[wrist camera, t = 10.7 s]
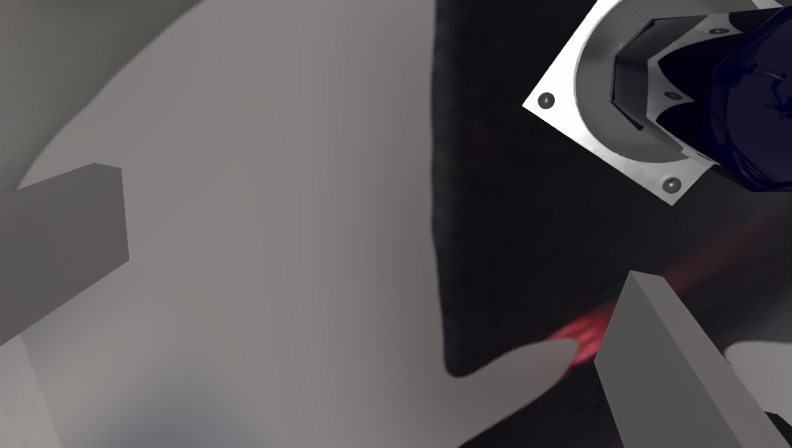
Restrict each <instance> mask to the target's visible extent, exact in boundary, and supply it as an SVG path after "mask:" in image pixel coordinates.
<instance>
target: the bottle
mask: <svg viewBox="0 0 792 448" xmlns="http://www.w3.org/2000/svg"><path fill="white" fill-rule="evenodd" d="M609 101H610V102H611V103H612V104H613V105H614V106H615V107H616V108H617V110H618V111H619V112H620V113H621V114H622V115H623V116H624V117H625V118H626V119H627V120H628V121H629V122H630V123H631V124H632V125H633V126H634V127H635V128H636V129H637V130H638V131H644V132H646V133H647V134H649V135H651V136H653V137H654V138H656V139H658V140H660V141H662V142H663V143H665V144H667V145H669V146H670V147H672V148H674V149H676V150H678V151H679V152H681V153H683V154H685V155H686V156H688V157H690V158H692V159H694V160H695V161H697V162H699V163H701V164H702V165H704V166H706V167H708V168H710V169H711V170H713V171H715V172H717V173H718V174H720V175H722V176H724V177H726V178H727V179H729V180H731V181H733V182H734V183H736V184H738V185H740V186H742V187H743V188H745V189H747V190H749V191H751V192H792V6H787V7H776V8H767V9H757V10H748V11H739V12H729V13H720V14H711V15H698V16H685V17H671V18H658V19H651V20H650V21H649V22H648V23H647V24H646V25H645V26H644V27H643V28H642V29H641V30H640V31H639V32H637V33H636V34H635V35H634V36H633V37H632V38H631V39H630V40H629V41H628V42H627V43H626V44H625V45H624V46H623V47H622V48H621V49H620V50H619V51H618V52H617V53H616V54H615V55H614V56H613V67H612V78H611V89H610V100H609Z"/></svg>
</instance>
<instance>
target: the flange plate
mask: <svg viewBox="0 0 792 448" xmlns="http://www.w3.org/2000/svg"><path fill="white" fill-rule="evenodd" d="M776 7H783V6H781V5H780V4H778V3H777V2H776V1H774V0H597V1H596V2H595V4H594V5H593V7H592V8H591V9H590V11H589V12H588V14H587V15H586V16H585V18H584V19H583V20H582V22H581V23H580V25H579V26H578V27H577V29H576V30H575V32H574V33H573V34H572V36H571V37H570V39H569V40H568V41H567V43H566V44H565V46H564V47H563V48H562V50H561V51H560V52H559V54H558V55H557V57H556V58H555V59H554V61H553V62H552V64H551V65H550V66H549V68H548V69H547V71H546V72H545V73H544V75H543V76H542V77H541V79H540V80H539V82H538V83H537V84H536V86H535V87H534V89H533V90H532V91H531V93H530V94H529V96H528V97H527V98H526V100H525V101H524V103H523V104H522V106H524V107H525V108H527V109H528V110H530V111H531V112H533V113H534V114H536V115H537V116H539V117H540V118H542V119H543V120H545V121H546V122H548V123H549V124H551V125H552V126H554V127H555V128H557V129H558V130H560V131H561V132H563V133H564V134H566V135H567V136H569V137H570V138H571V139H573V140H574V141H576V142H577V143H579V144H580V145H582V146H583V147H585V148H586V149H588V150H589V151H591V152H592V153H594V154H595V155H597V156H598V157H600V158H601V159H603V160H604V161H606V162H607V163H609V164H610V165H612V166H613V167H615V168H616V169H618V170H619V171H621V172H622V173H624V174H625V175H627V176H628V177H630V178H631V179H633V180H634V181H636V182H637V183H639V184H640V185H642V186H643V187H645V188H646V189H648V190H649V191H651V192H652V193H654V194H655V195H657V196H658V197H659V198H661V199H662V200H664V201H665V202H667V203H668V204H670V205H671V206H672V205H673V204H674V203H675V202H676V201H677V200H678V199H679V198H680V197H681V196H682V195H683V194H684V193H685V192H686V191H687V190H688V189H689V188H690V187H691V186H692V184H693V183H694V182H695V181H696V180H697V179H698V178H699V177H700V176H701V175H702V174H703V173H704V172H705V171H706V170H707V169H708V167H706V166H704V165H702V164H701V163H699V162H697V161H695V160H694V159H692V158H690V157H688V156H686V155H685V154H683V153H681V152H679V151H678V150H676V149H674V148H672V147H670V146H669V145H667V144H665V143H663V142H662V141H660V140H658V139H656V138H654V137H653V136H651V135H649V134H647V133H646V132H644V131H638V130H637V129H636V128H635V127H634V126H633V125H632V124H631V123H630V122H629V121H628V120H627V119H626V118H625V117H624V116H623V115H622V114H621V113H620V112H619V111H618V110H617V108H616V107H615V106H614V105H613V104H612V103H611V102H610V101H609V100H610V89H611V78H612V67H613V56H614V55H615V54H616V53H617V52H618V51H619V50H620V49H621V48H622V47H623V46H624V45H625V44H626V43H627V42H628V41H629V40H630V39H631V38H632V37H633V36H634V35H635V34H636V33H637V32H639V31H640V30H641V29H642V28H643V27H644V26H645V25H646V24H647V23H648V22H649V21H650V20H651V19H658V18H671V17H685V16H698V15H711V14H720V13H729V12H739V11H748V10H757V9H767V8H776Z"/></svg>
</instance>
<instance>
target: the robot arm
mask: <svg viewBox="0 0 792 448" xmlns="http://www.w3.org/2000/svg"><path fill="white" fill-rule="evenodd" d="M121 175H122V174H121V168H117V167H112V166H107V165H102V164H97V163H92V164H89V165H87V166H84V167H81V168H78V169H75V170H72V171H70V172H67V173H64V174H61V175H58V176H55V177H52V178H50V179H47V180H44V181H41V182H38V183H35V184H33V185H30V186H27V187H24V188H21V189H18V190H15V191H13V192H10V193H7V194H4V195H1V196H0V346H1V345H3V344H4V343H6V342H7V341H9V340H10V339H12V338H13V337H15V336H16V335H18V334H19V333H21V332H22V331H24V330H25V329H26V328H28V327H30V326H31V325H33V324H34V323H36V322H37V321H39V320H40V319H42V318H43V317H44V316H46V315H48V314H49V313H51V312H52V311H53V310H55V309H56V308H58V307H60V306H61V305H62V304H64V303H66V302H67V301H69V300H70V299H72V298H73V297H74V296H76V295H77V294H79V293H80V292H82V291H84V290H85V289H86V288H88V287H89V286H91V285H92V284H94V283H95V282H97V281H99V280H100V279H101V278H103V277H104V276H106V275H108V274H109V273H110V272H112V271H113V270H115V269H116V268H118V267H120V266H121V265H122V264H124V263H125V262H127V261H129V254H128V242H127V232H126V220H125V209H124V197H123V186H122V176H121ZM594 363H595V366H596V368H597V371H598V374H599V377H600V380H601V383H602V385H603V388H604V391H605V394H606V397H607V400H608V402H609V405H610V408H611V411H612V414H613V416H614V419H615V422H616V425H617V428H618V431H619V433H620V436H621V439H622V442H623V445H624V448H792V426H791V425H789V424H788V423H787V422H786V421H785V420H784V419H782V418H781V417H780V416H779V415H778V414H773V413H769V412H765V411H763V410H762V408H761V407H760V406H759V404H758V403H757V401H756V400H755V399H754V398H753V396H752V395H751V393H750V392H749V391H748V390H747V388H746V387H745V385H744V384H743V383H742V381H741V380H740V379H739V377H738V376H737V375H736V374H735V372H734V371H733V370H732V368H731V367H730V366H729V364H728V363H727V362H726V360H725V359H724V358H723V356H722V355H721V354H720V352H719V351H718V350H717V348H716V347H715V346H714V344H713V343H712V342H711V340H710V339H709V338H708V336H707V335H706V334H705V332H704V331H703V330H702V328H701V327H700V326H699V324H698V323H697V322H696V320H695V319H694V318H693V316H692V315H691V314H690V312H689V311H688V310H687V308H686V307H685V306H684V304H683V303H682V302H681V300H680V299H679V298H678V296H677V295H676V294H675V292H674V291H673V290H672V288H671V287H670V286H669V284H668V283H667V282H666V280H665V279H664V278H663V277H660V276H655V275H650V274H645V273H640V272H635V271H630V272H629V275H628V277H627V280H626V282H625V285H624V287H623V290H622V292H621V295H620V297H619V300H618V302H617V305H616V307H615V310H614V313H613V315H612V318H611V320H610V323H609V325H608V328H607V330H606V333H605V335H604V338H603V340H602V343H601V345H600V348H599V350H598V353H597V355H596V358H595V360H594Z"/></svg>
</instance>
